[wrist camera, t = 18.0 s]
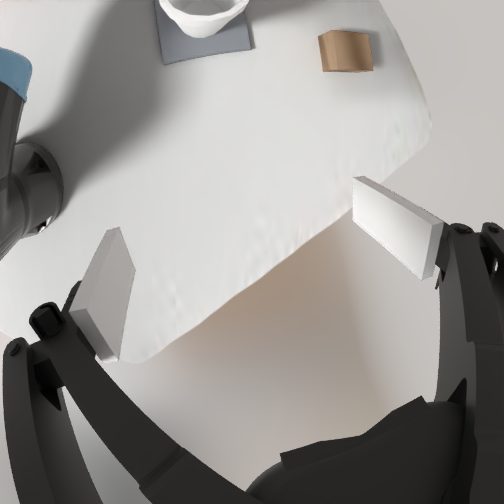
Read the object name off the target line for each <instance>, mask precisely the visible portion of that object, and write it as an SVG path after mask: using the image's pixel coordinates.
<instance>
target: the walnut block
mask: <svg viewBox="0 0 504 504" xmlns="http://www.w3.org/2000/svg"><path fill="white" fill-rule="evenodd" d="M318 40H319V46H320V53H321V60H322V67H323V72H356V73H357V72H366V71H373V63H372V55H371V49H370V42H369V36H368V34H364V33H356V32H347V31H337V30H331V31H329V32H327V33H325V34H322V35H320V36H318Z"/></svg>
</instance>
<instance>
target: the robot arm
mask: <svg viewBox="0 0 504 504" xmlns="http://www.w3.org/2000/svg"><path fill="white" fill-rule="evenodd" d="M31 75H32V65H31V63H30V61H29V60H28V59H27V58H26V57H24V56H23V55H21V54H19V53H16V52H13V51H11V50H8V49H4V48H1V47H0V261H1V259H2V258H3V257H4V256H5V255H6V254H7V253H8V251H9V250H10V249H11V248H12V247H13V246H14V245H15V244H16V243H17V242H18V241H19V240H20V239H23V238H26V237H30V236H33V235H36V234H38V233H40V232H42V231H43V230H45V229H46V228H47V227H48V226H49V225H50V224H51V223H52V222H53V220H54V219H55V218H56V216H57V215H58V213H59V210H60V208H61V204H62V199H63V181H62V176H61V173H60V170H59V167H58V165H57V163H56V161H55V160H54V158H53V157H52V155H51V154H50V153H49V152H48V151H47V150H46V149H44V148H43V147H41V146H39V145H37V144H34V143H21V144H17V145H15V144H16V139H17V134H18V129H19V124H20V120H21V115H22V111H23V107H24V103H26V101H27V96H26V94H27V90H28V86H29V82H30V79H31ZM353 221H354V222H355V223H356V224H358V225H359V226H360V227H361V228H362V229H364V230H365V231H366V232H367V233H368V234H370V235H371V236H372V237H373V238H374V239H376V240H377V241H378V242H379V243H380V244H381V245H383V246H384V247H385V248H386V249H387V250H388V251H389V252H390V253H392V254H393V255H394V256H395V257H396V258H397V259H398V260H399V261H401V262H402V263H403V264H404V265H405V266H406V267H407V268H408V269H409V270H411V271H412V272H413V273H414V274H415V275H416V276H417V277H418V278H419V279H420V280H424V279H426V278H429V277H431V276H433V272H434V268H435V264H436V265H437V266H438V267H439V268H440V272H439V276H438V279H437V283H436V287H435V289H437V288H438V286H439V290H440V291H439V292H440V353H439V369H438V382H437V391H436V396H435V399H434V402H428V403H426V402H425V400H424V399H423V397H422V396H420V397H418V398H416V399H414V400H413V401H411V402H409V403H407V404H405V405H403V406H401V407H399V408H397V409H396V410H393V411H392V412H390V414H388V415H387V416H386V417H385V418H383V419H382V420H381V421H380V422H378V423H377V424H376V425H375V426H373V427H372V428H371V429H369V430H368V431H367V432H366V433H364V434H362V435H360V436H355V437H348V438H343V439H335V440H328V441H320V442H316V443H313V444H310V445H307V446H304V447H301V448H297V449H294V450H290V451H287V452H283V453H280V456H281V462H279V463H277V464H275V465H273V466H272V467H270V468H269V469H267V470H266V471H265V472H263V473H262V474H261V475H260V476H258V477H257V478H256V479H255V481H253V482H252V484H251V485H250V486H249V488H248V489H247V490H246V492H245V491H243V490H241V489H240V488H238V487H237V486H235V485H234V484H232V483H231V482H229V481H228V480H226V479H225V478H223V477H222V476H221V475H219V474H218V473H216V472H215V471H213V470H212V469H211V468H209V467H208V466H207V465H205V464H204V463H203V462H201V461H200V460H199V459H197V458H196V457H195V456H194V455H192V454H191V453H190V452H188V451H187V450H186V449H185V448H182V447H181V446H180V445H179V444H177V443H176V442H175V441H174V440H173V439H172V438H170V437H169V436H168V435H167V434H166V433H165V432H164V431H162V430H161V429H160V428H159V427H158V426H157V425H156V424H155V423H154V422H153V421H152V420H151V419H150V418H149V417H147V416H146V415H145V414H144V413H143V412H142V411H141V410H140V409H139V408H138V407H137V406H136V405H135V404H134V403H133V401H131V400H130V398H129V397H128V396H127V395H126V394H125V393H124V392H123V391H122V390H121V389H120V388H119V387H118V386H117V384H116V383H115V382H114V381H113V380H112V379H111V378H110V376H109V375H108V374H107V373H106V372H105V371H104V369H103V368H102V367H101V366H100V365H99V363H98V362H97V361H96V360H95V355H96V354H97V356H98V357H99V359H100V360H101V361H102V363H107V362H113V361H119V356H120V349H121V343H122V337H123V331H124V325H125V319H126V314H127V309H128V303H129V299H130V294H131V289H132V284H133V280H134V275H135V271H136V270H135V267H134V265H133V262H132V260H131V257H130V254H129V252H128V249H127V246H126V244H125V241H124V238H123V235H122V233H121V230H120V227H117V228H114V229H110V230H107V231H106V233H105V235H104V237H103V239H102V241H101V243H100V244H99V246H98V248H97V250H96V252H95V254H94V256H93V258H92V260H91V263H90V265H89V267H88V269H87V271H86V273H85V275H84V277H83V280H81V281H78V282H77V283H76V284H75V285H74V287H73V288H72V289H71V291H70V293H69V295H68V298H67V300H66V303H65V304H64V307H63V309H62V311H61V312H60V310H59V308H58V307H57V305H56V304H55V303H54V302H47V303H44V304H42V305H41V306H39V307H38V308H37V309H35V310H34V312H33V313H32V314H31V316H30V318H29V324H30V325H31V327H32V328H33V330H34V331H35V333H36V334H37V335H38V337H39V338H40V341H38V342H35V343H33V344H31V345H29V344H28V343H27V341H26V340H25V339H24V338H23V337H19V338H16V339H14V340H13V341H11V342H10V343H9V344H8V345H7V346H6V349H5V351H4V354H3V406H4V407H3V408H4V421H5V430H6V440H7V446H8V453H9V459H10V464H11V469H12V474H13V479H14V483H15V487H16V491H17V494H18V498H19V502H20V504H103V503H102V501H101V499H100V496H99V495H98V492H97V490H96V488H95V486H94V484H93V482H92V479H91V477H90V474H89V472H88V470H87V467H86V465H85V462H84V460H83V457H82V454H81V452H80V449H79V446H78V443H77V440H76V437H75V434H74V431H73V428H72V425H71V421H70V418H69V415H68V411H67V408H66V404H65V400H64V396H63V392H62V387H63V386H66V388H67V390H68V391H69V393H70V395H71V396H72V398H73V399H74V401H75V403H76V404H77V406H78V407H79V409H80V410H81V412H82V413H83V415H84V416H85V418H86V419H87V420H88V422H89V423H90V425H91V426H92V428H93V429H94V430H95V432H96V433H97V434H98V436H99V437H100V438H101V440H102V441H103V442H104V443H105V445H106V446H107V447H108V449H109V450H110V451H111V452H112V454H113V455H114V456H115V457H116V458H117V459H118V461H119V462H120V463H121V464H122V465H123V467H125V469H126V470H127V471H128V472H129V473H130V474H131V475H132V477H133V478H134V479H135V480H136V481H137V482H138V484H139V489H140V490H141V492H142V493H143V494H144V495H145V497H146V498H147V499H148V500H149V501H150V502H151V503H152V504H504V230H503V229H502V228H501V227H500V226H498V225H497V224H495V223H489V222H487V223H484V224H483V227H482V230H481V232H480V233H479V232H478V233H474V231H473V230H472V229H471V228H470V227H468V226H466V225H464V224H460V223H454V224H451V225H448V224H447V223H445V222H444V221H442V220H441V219H439V218H438V217H436V216H434V215H433V214H431V213H429V212H428V211H426V210H425V209H423V208H421V207H419V206H417V205H415V204H414V203H412V202H410V201H409V200H407V199H405V198H404V197H402V196H400V195H398V194H396V193H395V192H393V191H391V190H389V189H387V188H386V187H384V186H382V185H380V184H378V183H376V182H374V181H372V180H371V179H369V178H367V177H365V176H360V177H354V178H353ZM496 262H498V267H497V271H495V266H496Z"/></svg>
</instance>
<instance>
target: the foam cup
mask: <svg viewBox="0 0 504 504" xmlns="http://www.w3.org/2000/svg"><path fill="white" fill-rule="evenodd" d="M248 1H249V0H159V2H160V6H161V7H162V8H163V10H164V11H165V12H166V13H167V15H168V16H169V17H170V18H171V19H173V20H174V21H175V22H176V23H177V24H178V26H179V27H180V28H181V30H182V31H183V32H184V33H185V34H187V35H189V36H191V37H194V38H205V37H208V36H212V35H214V34H215V33H216V32H218V31H219V30H220V29H221V28H222V27H223V26H225V25H226V24H227V23H228V22H229V21H230V20H232V19H233V18H234V17H235V16H237V15H238V14H240V13H241V12H242V11H243V10H244V9H245V7H246V5H247V4H248Z"/></svg>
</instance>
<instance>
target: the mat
mask: <svg viewBox="0 0 504 504" xmlns="http://www.w3.org/2000/svg"><path fill="white" fill-rule="evenodd" d="M154 3H155V11H156V18H157V25H158V31H159V38H160V44H161V50H162V56H163V62H164V65H167V64H171V63H175V62H180V61H184V60H189V59H194V58H199V57H205V56H210V55H217V54H223V53H230V52H238V51H247V50H251V47H250V41H249V35H248V30H247V24H246V19H245V14H244V10H243V11H242V12H241V13H240V14H238V15H237V16H235V17H234V18H233V19H232V20H230V21H229V22H228V23H227V24H226V25H225V26H223V27H222V28H221V29H220V30H219V31H218V32H216V33H215V34H214V35H212V36H208V37H205V38H194V37H191V36H189V35H187V34H185V33H184V32H183V31H182V30H181V28H180V27H179V26H178V24H177V23H176V22H175V21H174V20H173V19H171V18H170V17H169V16H168V15H167V13H166V12H165V11H164V10H163V8H162V7H161V6H160V2H159V0H154Z"/></svg>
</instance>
